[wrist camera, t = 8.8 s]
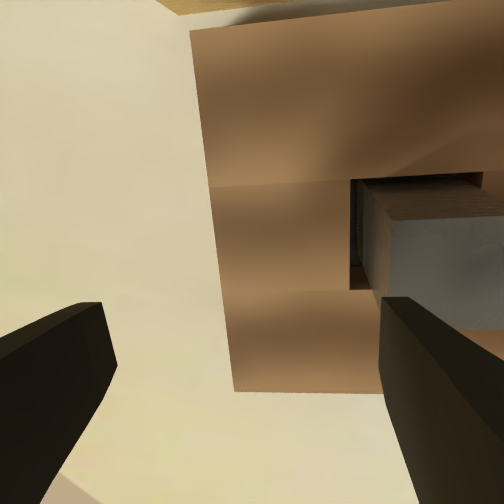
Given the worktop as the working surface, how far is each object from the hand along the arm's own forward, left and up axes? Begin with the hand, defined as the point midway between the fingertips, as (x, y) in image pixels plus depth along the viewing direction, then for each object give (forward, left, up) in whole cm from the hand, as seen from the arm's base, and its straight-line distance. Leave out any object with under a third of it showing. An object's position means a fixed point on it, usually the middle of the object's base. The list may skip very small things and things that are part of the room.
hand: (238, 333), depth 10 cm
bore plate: (0, -6, -9) cm, 11 cm away
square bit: (0, -6, -9) cm, 11 cm away
